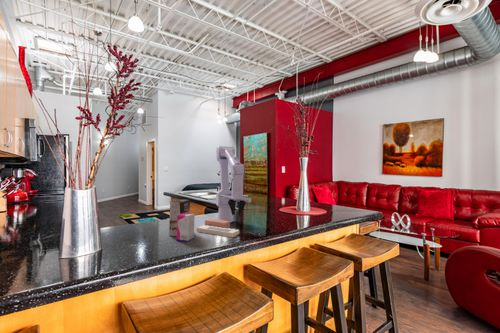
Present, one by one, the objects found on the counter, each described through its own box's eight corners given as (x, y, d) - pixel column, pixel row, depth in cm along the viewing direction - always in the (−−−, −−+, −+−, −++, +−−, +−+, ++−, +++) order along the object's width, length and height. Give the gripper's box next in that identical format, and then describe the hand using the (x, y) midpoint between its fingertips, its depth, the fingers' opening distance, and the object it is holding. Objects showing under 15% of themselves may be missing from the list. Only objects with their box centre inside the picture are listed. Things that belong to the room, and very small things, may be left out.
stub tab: (209, 225, 141) (210, 218, 141) (229, 228, 137) (229, 221, 137) (204, 227, 137) (205, 220, 137) (225, 231, 132) (225, 223, 132)
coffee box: (181, 237, 120) (182, 202, 120) (168, 235, 122) (169, 201, 121) (189, 231, 129) (190, 199, 129) (177, 230, 131) (178, 198, 130)
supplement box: (194, 238, 119) (195, 213, 119) (188, 242, 113) (188, 215, 113) (182, 237, 120) (183, 212, 120) (176, 240, 115) (176, 214, 114)
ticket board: (204, 228, 136) (204, 224, 136) (239, 233, 129) (239, 229, 129) (196, 231, 130) (196, 227, 130) (232, 237, 122) (232, 232, 122)
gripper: (220, 187, 131) (220, 214, 131) (247, 190, 125) (246, 218, 126) (227, 186, 138) (226, 212, 138) (253, 188, 132) (252, 215, 132)
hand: (236, 215), depth 132 cm, fingers open, 3 cm apart
